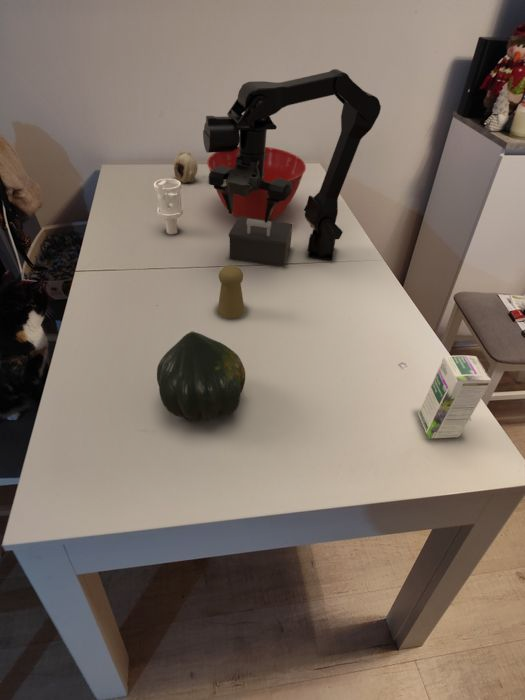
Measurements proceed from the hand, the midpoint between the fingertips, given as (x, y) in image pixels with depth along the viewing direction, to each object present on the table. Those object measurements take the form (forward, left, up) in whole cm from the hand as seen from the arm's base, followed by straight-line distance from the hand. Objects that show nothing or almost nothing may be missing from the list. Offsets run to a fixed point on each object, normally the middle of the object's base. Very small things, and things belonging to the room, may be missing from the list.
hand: (248, 217), depth 107 cm
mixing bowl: (+5, -30, -13) cm, 33 cm away
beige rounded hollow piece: (+33, -48, -8) cm, 59 cm away
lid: (-2, -6, -6) cm, 9 cm away
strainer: (+25, -11, -13) cm, 30 cm away
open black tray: (-2, -6, -13) cm, 14 cm away
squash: (-3, +48, -13) cm, 50 cm away
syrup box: (-45, +43, -13) cm, 64 cm away
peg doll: (-1, +20, -13) cm, 24 cm away
